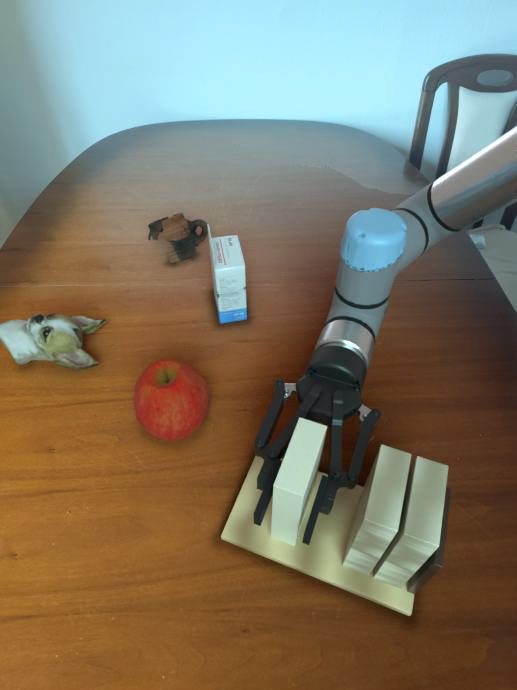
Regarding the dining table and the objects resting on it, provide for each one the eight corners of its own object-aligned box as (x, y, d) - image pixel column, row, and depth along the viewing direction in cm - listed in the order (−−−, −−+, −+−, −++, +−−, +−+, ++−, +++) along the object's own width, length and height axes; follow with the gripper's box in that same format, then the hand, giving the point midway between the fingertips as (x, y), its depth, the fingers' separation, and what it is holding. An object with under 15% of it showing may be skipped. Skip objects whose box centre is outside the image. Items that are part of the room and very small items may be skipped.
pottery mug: (155, 270, 87) (138, 228, 84) (163, 260, 96) (148, 222, 93) (214, 251, 86) (199, 208, 83) (217, 242, 95) (203, 203, 92)
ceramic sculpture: (-1, 292, 69) (100, 290, 70) (18, 331, 75) (110, 328, 77) (-23, 345, 62) (90, 341, 63) (1, 383, 68) (102, 378, 70)
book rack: (424, 512, 55) (466, 453, 44) (409, 616, 48) (455, 577, 37) (257, 453, 61) (257, 387, 49) (221, 539, 53) (210, 484, 42)
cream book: (315, 484, 57) (328, 425, 46) (295, 546, 52) (304, 496, 41) (291, 475, 58) (299, 416, 47) (269, 536, 53) (272, 485, 42)
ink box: (247, 320, 77) (245, 250, 66) (219, 324, 77) (212, 254, 66) (240, 288, 83) (237, 218, 72) (213, 291, 82) (206, 221, 71)
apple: (215, 389, 68) (209, 342, 60) (207, 451, 61) (199, 407, 53) (147, 387, 68) (132, 340, 60) (132, 448, 61) (113, 405, 53)
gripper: (399, 398, 61) (361, 574, 46) (276, 361, 65) (205, 512, 50) (414, 363, 55) (375, 551, 41) (277, 325, 59) (199, 483, 45)
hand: (281, 529), depth 46 cm, fingers open, 5 cm apart
